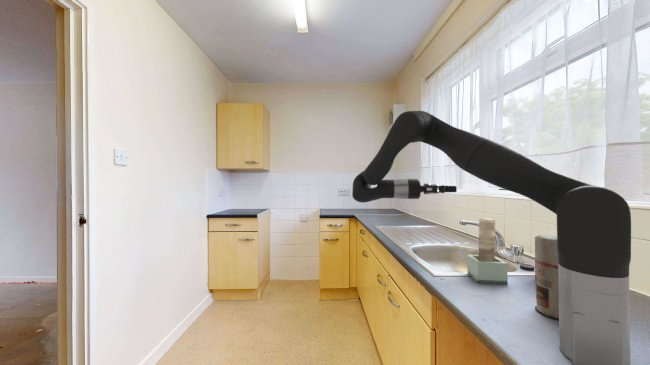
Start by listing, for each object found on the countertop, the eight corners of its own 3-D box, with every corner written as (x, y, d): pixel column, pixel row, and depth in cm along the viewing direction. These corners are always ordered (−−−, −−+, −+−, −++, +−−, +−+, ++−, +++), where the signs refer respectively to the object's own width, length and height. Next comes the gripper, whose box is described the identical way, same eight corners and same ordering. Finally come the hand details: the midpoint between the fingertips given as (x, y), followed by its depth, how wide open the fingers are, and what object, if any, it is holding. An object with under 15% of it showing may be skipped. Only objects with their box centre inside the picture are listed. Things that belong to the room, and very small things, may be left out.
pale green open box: (507, 284, 82) (507, 263, 82) (478, 282, 84) (478, 262, 84) (493, 274, 91) (493, 255, 91) (467, 273, 93) (467, 254, 93)
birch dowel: (493, 279, 84) (494, 220, 84) (477, 275, 87) (478, 219, 87) (495, 275, 88) (496, 219, 88) (479, 272, 91) (480, 218, 91)
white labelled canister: (531, 303, 69) (531, 232, 70) (571, 310, 65) (571, 235, 65) (538, 317, 62) (537, 237, 62) (584, 326, 58) (583, 241, 58)
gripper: (409, 178, 85) (459, 178, 83) (403, 179, 99) (445, 178, 97) (409, 200, 85) (459, 200, 83) (403, 197, 99) (446, 197, 97)
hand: (452, 188), depth 90 cm, fingers open, 8 cm apart
